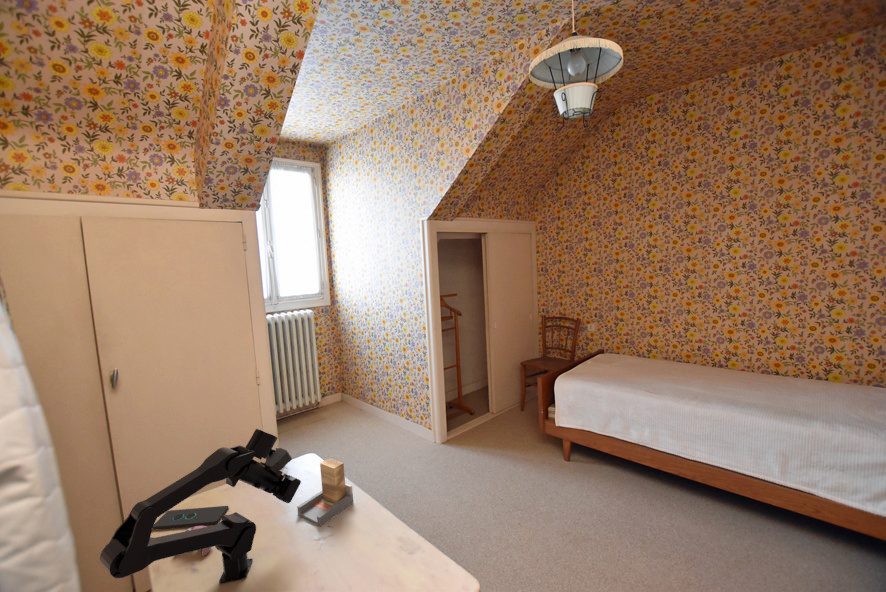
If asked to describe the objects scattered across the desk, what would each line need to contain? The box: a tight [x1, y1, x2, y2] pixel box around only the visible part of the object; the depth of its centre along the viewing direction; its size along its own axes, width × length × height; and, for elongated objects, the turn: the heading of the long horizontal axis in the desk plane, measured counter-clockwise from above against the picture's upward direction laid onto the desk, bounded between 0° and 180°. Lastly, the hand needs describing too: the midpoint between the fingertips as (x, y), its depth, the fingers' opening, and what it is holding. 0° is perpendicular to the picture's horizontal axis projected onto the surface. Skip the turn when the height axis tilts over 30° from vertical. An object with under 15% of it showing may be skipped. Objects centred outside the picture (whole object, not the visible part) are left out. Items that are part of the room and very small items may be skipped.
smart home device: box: [152, 505, 230, 530], centre depth 126 cm, size 8×2×20 cm
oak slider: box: [319, 457, 346, 504], centre depth 129 cm, size 4×7×12 cm, turn 56°
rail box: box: [296, 482, 354, 528], centre depth 127 cm, size 14×11×6 cm
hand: (293, 490), depth 117 cm, fingers closed
